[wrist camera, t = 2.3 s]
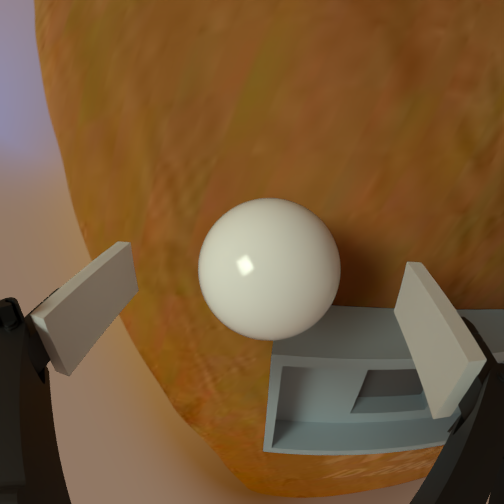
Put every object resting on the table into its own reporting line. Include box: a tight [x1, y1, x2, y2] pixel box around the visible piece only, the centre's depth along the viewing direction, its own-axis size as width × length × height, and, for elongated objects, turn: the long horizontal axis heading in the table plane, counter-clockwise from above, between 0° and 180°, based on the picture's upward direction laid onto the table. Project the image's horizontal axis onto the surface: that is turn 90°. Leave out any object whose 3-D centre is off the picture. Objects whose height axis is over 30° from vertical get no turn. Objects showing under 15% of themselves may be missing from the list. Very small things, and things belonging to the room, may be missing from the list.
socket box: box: [263, 305, 504, 455], centre depth 22 cm, size 14×24×6 cm, turn 90°
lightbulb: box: [198, 198, 341, 341], centre depth 16 cm, size 6×6×11 cm
